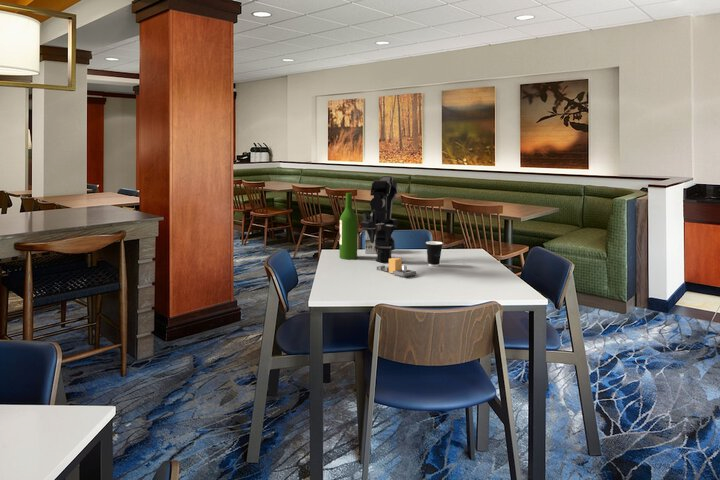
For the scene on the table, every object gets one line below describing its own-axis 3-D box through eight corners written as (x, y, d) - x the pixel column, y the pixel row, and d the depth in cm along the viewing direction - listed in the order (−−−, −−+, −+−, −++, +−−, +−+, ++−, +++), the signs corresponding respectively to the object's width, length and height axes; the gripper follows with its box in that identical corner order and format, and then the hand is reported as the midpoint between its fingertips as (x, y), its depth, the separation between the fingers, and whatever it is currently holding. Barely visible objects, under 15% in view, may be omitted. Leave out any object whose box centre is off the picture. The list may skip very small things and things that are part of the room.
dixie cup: (439, 267, 240) (440, 244, 238) (423, 266, 243) (423, 243, 241) (443, 264, 247) (444, 242, 245) (427, 263, 250) (428, 240, 248)
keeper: (404, 273, 228) (404, 263, 227) (414, 275, 223) (414, 265, 223) (394, 275, 224) (394, 264, 223) (404, 277, 219) (404, 267, 219)
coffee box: (376, 253, 272) (377, 223, 269) (364, 253, 273) (365, 223, 270) (379, 250, 281) (380, 221, 278) (367, 250, 282) (368, 220, 279)
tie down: (372, 270, 234) (372, 256, 233) (383, 268, 238) (383, 255, 237) (404, 276, 219) (404, 262, 218) (415, 273, 223) (415, 260, 222)
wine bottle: (337, 256, 264) (338, 192, 259) (354, 255, 266) (355, 192, 261) (341, 259, 256) (341, 193, 250) (359, 259, 258) (359, 193, 252)
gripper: (383, 205, 246) (382, 238, 248) (353, 207, 234) (352, 241, 236) (399, 207, 237) (398, 241, 240) (369, 209, 225) (369, 245, 228)
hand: (379, 242), depth 236 cm, fingers open, 9 cm apart
